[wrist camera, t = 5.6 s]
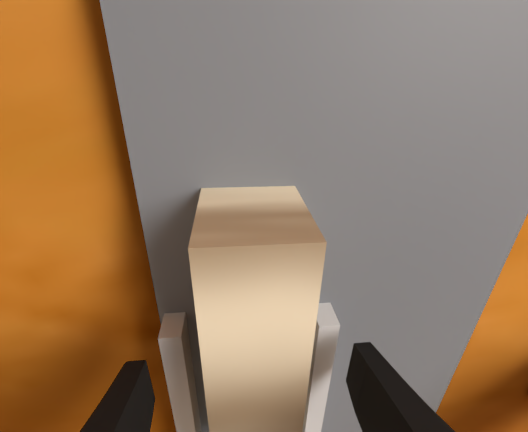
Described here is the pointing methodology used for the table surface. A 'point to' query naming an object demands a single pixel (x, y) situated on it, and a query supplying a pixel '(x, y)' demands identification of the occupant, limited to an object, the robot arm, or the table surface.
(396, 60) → the board
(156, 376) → the table surface
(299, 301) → the slat
